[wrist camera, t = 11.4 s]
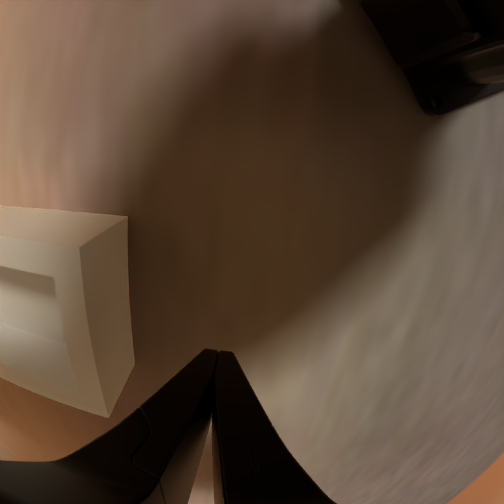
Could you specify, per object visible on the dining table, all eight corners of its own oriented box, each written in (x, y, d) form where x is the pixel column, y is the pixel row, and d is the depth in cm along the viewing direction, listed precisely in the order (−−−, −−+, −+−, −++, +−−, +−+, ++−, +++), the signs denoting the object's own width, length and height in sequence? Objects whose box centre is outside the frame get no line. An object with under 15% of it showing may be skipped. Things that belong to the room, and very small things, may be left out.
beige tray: (128, 215, 10) (79, 247, 7) (136, 362, 13) (108, 418, 9) (-37, 202, 10) (-86, 221, 7) (-16, 317, 12) (-52, 349, 9)
